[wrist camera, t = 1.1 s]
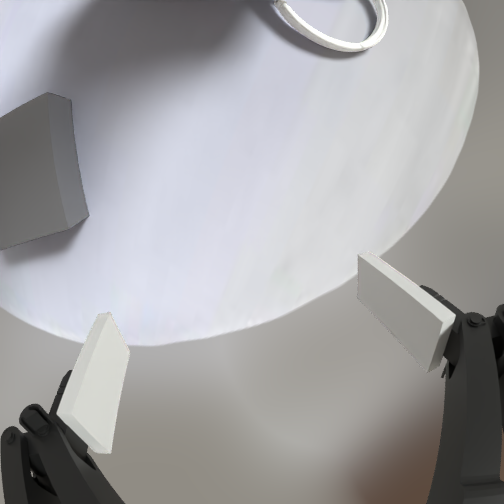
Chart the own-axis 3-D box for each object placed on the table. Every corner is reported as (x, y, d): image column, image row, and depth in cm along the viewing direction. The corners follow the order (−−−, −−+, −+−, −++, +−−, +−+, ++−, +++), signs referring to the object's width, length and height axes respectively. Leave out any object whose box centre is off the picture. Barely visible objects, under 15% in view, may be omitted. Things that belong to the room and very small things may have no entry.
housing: (70, 100, 27) (47, 92, 21) (89, 215, 34) (68, 229, 27) (1, 134, 25) (-26, 135, 19) (19, 236, 32) (-5, 251, 25)
